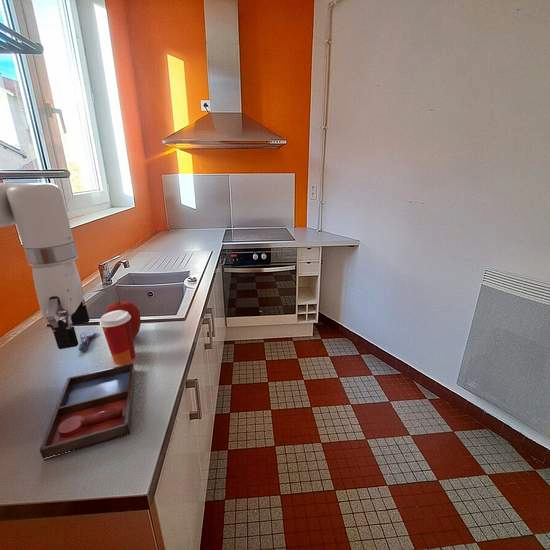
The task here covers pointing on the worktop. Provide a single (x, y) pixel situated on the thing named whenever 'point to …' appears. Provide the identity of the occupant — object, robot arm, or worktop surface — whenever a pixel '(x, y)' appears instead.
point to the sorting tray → (92, 409)
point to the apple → (131, 310)
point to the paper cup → (119, 336)
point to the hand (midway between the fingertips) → (75, 334)
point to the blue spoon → (86, 339)
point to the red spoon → (86, 421)
